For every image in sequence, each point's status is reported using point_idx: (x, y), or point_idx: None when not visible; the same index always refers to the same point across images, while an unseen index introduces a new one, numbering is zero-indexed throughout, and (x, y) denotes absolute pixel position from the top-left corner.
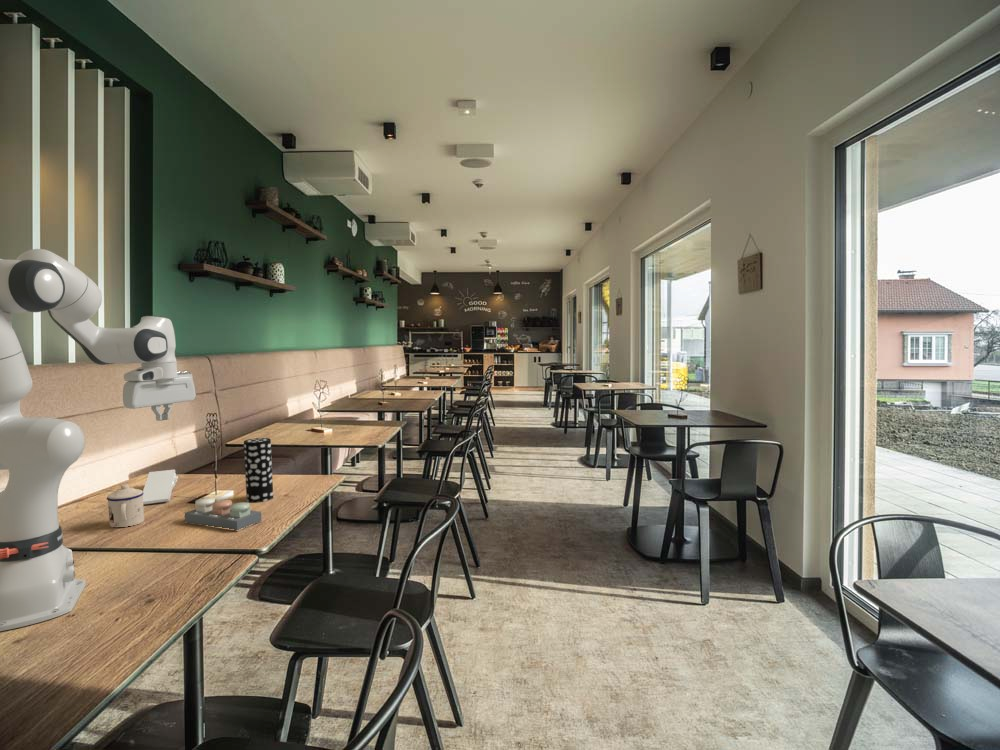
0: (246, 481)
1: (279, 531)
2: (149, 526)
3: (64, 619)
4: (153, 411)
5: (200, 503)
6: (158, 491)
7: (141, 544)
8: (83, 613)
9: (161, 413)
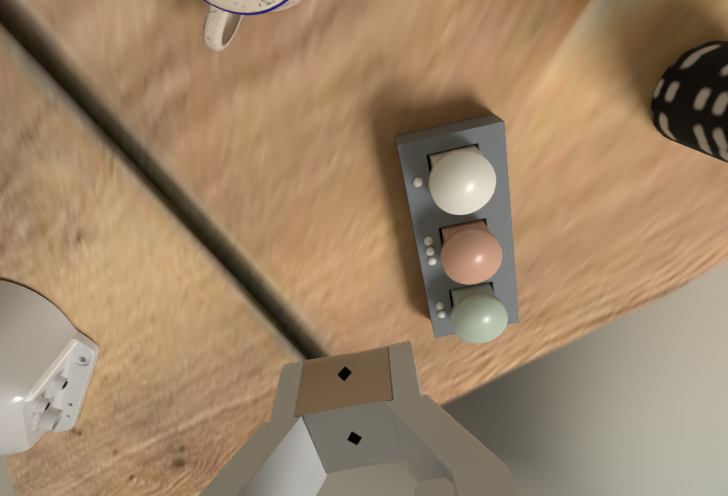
0: (714, 98)
1: (480, 383)
2: (307, 69)
3: (67, 436)
4: (223, 477)
5: (434, 200)
6: None
7: (237, 219)
8: (92, 437)
9: (317, 490)
